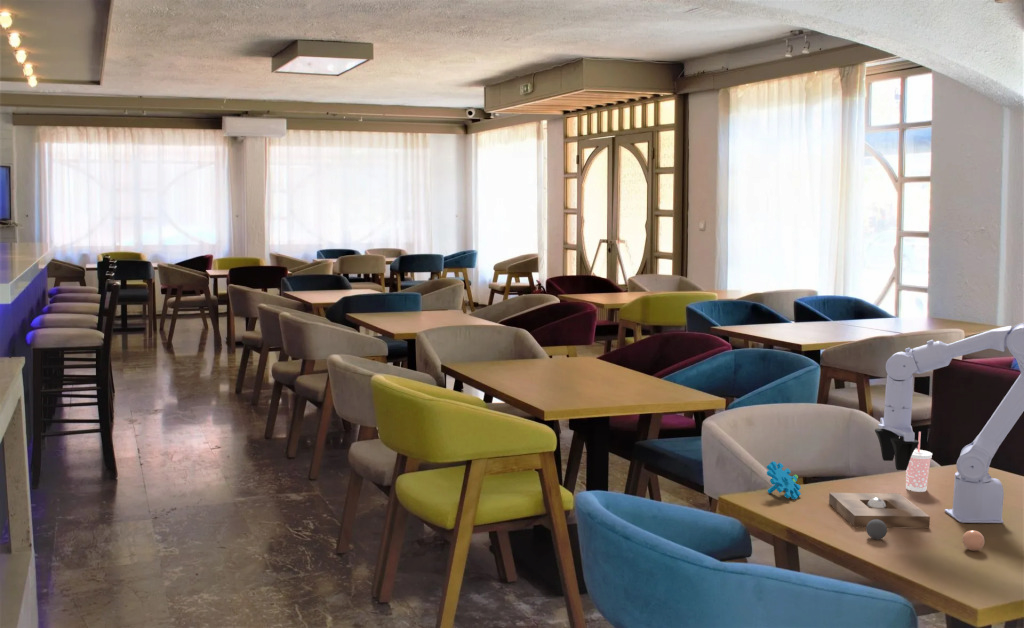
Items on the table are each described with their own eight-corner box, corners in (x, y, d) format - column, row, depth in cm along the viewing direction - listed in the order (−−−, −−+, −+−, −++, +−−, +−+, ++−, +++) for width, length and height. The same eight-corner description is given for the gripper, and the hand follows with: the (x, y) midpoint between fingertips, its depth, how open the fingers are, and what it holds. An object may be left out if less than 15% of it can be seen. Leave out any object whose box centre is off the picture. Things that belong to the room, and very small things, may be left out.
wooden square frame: (898, 504, 224) (899, 493, 224) (929, 527, 208) (930, 516, 208) (828, 503, 224) (829, 492, 224) (854, 527, 208) (854, 515, 208)
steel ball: (885, 498, 217) (893, 511, 214) (872, 510, 219) (879, 522, 215) (873, 491, 216) (881, 503, 212) (860, 502, 217) (867, 515, 214)
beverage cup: (900, 484, 240) (903, 428, 238) (926, 486, 238) (930, 429, 237) (905, 491, 234) (908, 434, 232) (932, 493, 233) (936, 435, 231)
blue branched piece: (786, 497, 222) (763, 460, 227) (768, 511, 225) (745, 474, 230) (812, 495, 230) (789, 458, 235) (794, 508, 233) (772, 472, 238)
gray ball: (881, 535, 203) (883, 516, 203) (889, 542, 199) (890, 523, 199) (862, 535, 203) (863, 516, 203) (869, 542, 199) (871, 522, 199)
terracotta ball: (977, 546, 197) (979, 527, 197) (987, 553, 193) (989, 534, 193) (958, 546, 197) (959, 527, 197) (967, 553, 193) (968, 534, 193)
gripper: (868, 398, 227) (864, 456, 229) (893, 412, 213) (889, 473, 215) (898, 399, 227) (895, 456, 229) (925, 413, 213) (921, 474, 215)
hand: (894, 465), depth 222 cm, fingers open, 7 cm apart
